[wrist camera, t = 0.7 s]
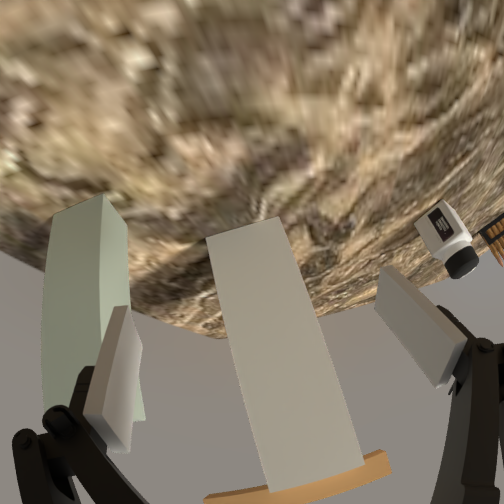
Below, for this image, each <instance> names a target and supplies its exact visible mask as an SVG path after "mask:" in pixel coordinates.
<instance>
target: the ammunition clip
mask: <svg viewBox="0 0 504 504" xmlns="http://www.w3.org/2000/svg"><path fill="white" fill-rule="evenodd" d="M501 224H502V225H501ZM479 233H480V235H481V236H482V238H483V239H484V241H485V242H486V244H487V245H488V247H489V248H490V250H491V252H492V253H493V255H494V256H495V258H496V259H497V261H498V262H499V264H500V265H501V266H502V267H503V263H502V260H501V258H500V256H499V254H498V252H499V253H500V255H501V256H502V258H503V259H504V251H503V249H504V239H503V238H504V213H503V214H501V215H500V216H499V217H497V218H496V219H495V220H493V221H492V222H490V223H489V224H488V225H486V226H485V227H484V228H482V229H481V230H480V231H479ZM494 234H495V235H494ZM488 235H489V236H488ZM500 244H501V245H500ZM494 245H495V246H494ZM495 247H496V248H495Z"/></svg>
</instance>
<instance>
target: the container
mask: <svg viewBox="0 0 504 504" xmlns="http://www.w3.org/2000/svg"><path fill="white" fill-rule="evenodd" d="M414 226H415V227H416V229H417V231H418V232H419V234H420V236H421V237H422V239H423V241H424V243H425V244H426V246H427V248H428V250H429V252H430V253H431V255H432V257H435V258H437V259H440V260H442V261H443V264H444V265H445V267H446V269H447V271H448V273H449V275H450V277H451V278H452V279H459V278H462V277H464V276H466V275H467V274H469V273H470V272H471V271H473V270H474V269H475V268H476V266H477V264H478V263H479V258H478V256H477V254H476V253H475V251H474V249H473V247H472V246H471V244H470V242H471V241H472V237H471V235H470V233H469V232H468V230H467V229H466V227H465V225H464V224H463V222H462V221H461V219H460V218H459V216H458V215H457V213H456V211H455V210H454V209H453V208H452V207H451V206H450V205H449V204H448V203H447V202H446V201H444V200H443V199H442V200H441V201H439V202H438V203H437V204H436V205H435V206H434V207H432V208H431V209H430V210H429V211H428V212H427V213H425V214H424V215H423V216H422V217H421V218H419V219H418V220H417V221H416V222H415V223H414Z"/></svg>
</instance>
